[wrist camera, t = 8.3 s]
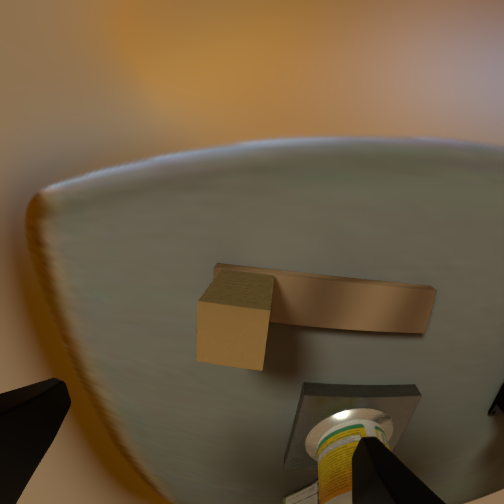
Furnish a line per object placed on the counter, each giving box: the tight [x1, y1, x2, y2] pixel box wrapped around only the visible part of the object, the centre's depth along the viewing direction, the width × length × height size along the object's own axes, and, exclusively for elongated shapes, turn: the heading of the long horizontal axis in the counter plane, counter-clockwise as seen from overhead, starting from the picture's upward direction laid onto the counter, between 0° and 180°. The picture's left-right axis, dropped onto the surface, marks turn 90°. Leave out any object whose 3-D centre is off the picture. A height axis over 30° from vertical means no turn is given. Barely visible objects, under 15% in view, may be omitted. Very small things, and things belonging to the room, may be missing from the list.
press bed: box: [284, 382, 421, 471], centre depth 19 cm, size 9×9×2 cm
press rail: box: [213, 263, 437, 333], centre depth 17 cm, size 14×3×1 cm, turn 84°
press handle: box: [197, 269, 275, 371], centre depth 15 cm, size 3×3×5 cm
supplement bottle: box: [317, 420, 391, 504], centre depth 14 cm, size 5×5×10 cm
